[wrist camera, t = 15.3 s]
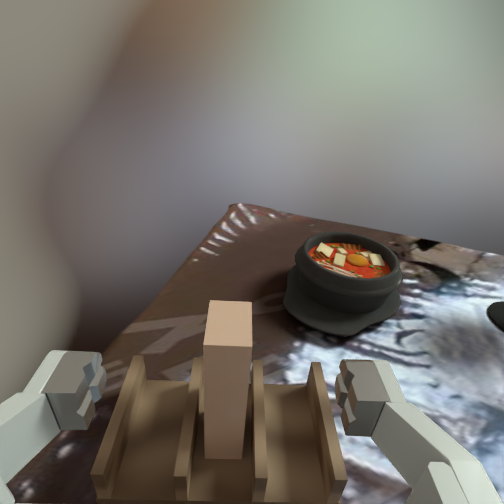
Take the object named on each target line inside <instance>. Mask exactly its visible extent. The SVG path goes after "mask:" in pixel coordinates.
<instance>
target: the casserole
mask: <svg viewBox="0 0 504 504" xmlns="http://www.w3.org/2000/svg"><path fill="white" fill-rule="evenodd" d="M295 262H296V265H294V266H293V267H292V268H291V270H290V271H289V273H288V276H287V290H286V292H285V295H284V298H283V305H284V308H285V309H286V310H287V311H288V312H289V313H290V314H291V315H292V316H293V317H294V318H296V319H297V320H298V321H300V322H302V323H304V324H305V325H307V326H309V327H311V328H313V329H316V330H318V331H321V332H324V333H328V334H332V335H338V336H351V335H355V334H356V333H358V332H360V331H361V330H363V329H364V328H366V327H368V326H370V325H372V324H375V323H378V322H381V321H384V320H387V319H388V318H390V317H391V316H393V315H394V314H395V313H396V312H397V310H398V309H399V306H400V295H399V293H398V291H397V289H398V288H399V287H400V285H401V284H402V281H403V274H402V272H401V269H400V265H399V260H398V258H397V256H396V255H395V254H394V253H393V252H392V251H391V250H390V249H389V248H387V247H386V246H384V245H383V244H381V243H379V242H377V241H375V240H373V239H370V238H367V237H364V236H361V235H357V234H352V233H346V232H324V233H319V234H316V235H313V236H311V237H310V238H308V239H307V240H306V241H305V243H304V244H303V246H301V247H300V248H299V249H298V250H297V253H296V255H295Z"/></svg>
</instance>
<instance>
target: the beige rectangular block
mask: <svg viewBox="0 0 504 504" xmlns="http://www.w3.org/2000/svg"><path fill="white" fill-rule="evenodd" d="M203 350H204V447H205V459H242V451H243V440H244V429H245V419H246V408H247V397H248V387H249V376H250V365H251V354H252V302H236V301H214V300H210V304H209V311H208V318H207V324H206V331H205V338H204V344H203Z"/></svg>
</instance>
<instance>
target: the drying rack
mask: <svg viewBox="0 0 504 504" xmlns="http://www.w3.org/2000/svg"><path fill="white" fill-rule="evenodd" d="M90 476H91V479H92V482H93V485H94V488H95V491H96V494H97V496H96V502H97V504H341V502H340V498H341V495H342V493H343V490H344V488H345V485H346V483H347V481H348V479H347V475H346V470H345V466H344V462H343V457H342V453H341V449H340V444H339V440H338V436H337V432H336V427H335V423H334V419H333V414H332V410H331V406H330V401H329V397H328V393H327V389H326V384H325V380H324V376H323V371H322V367H321V363H320V362H311V367H310V371H309V375H308V380H307V384H306V386H305V385H276V384H263V366H262V360H253V367H252V377H251V384H249V387H248V397H247V408H246V419H245V429H244V440H243V451H242V459H205V447H204V382H203V358H194V361H193V366H192V372H191V378H190V382H187V381H157V380H147V379H146V372H145V365H144V358H143V356H135V355H134V357H133V359H132V362H131V365H130V367H129V370H128V373H127V375H126V378H125V381H124V384H123V386H122V389H121V392H120V394H119V397H118V400H117V402H116V405H115V408H114V411H113V413H112V416H111V419H110V421H109V424H108V427H107V429H106V432H105V435H104V438H103V440H102V443H101V446H100V448H99V451H98V454H97V456H96V459H95V462H94V465H93V467H92V470H91V473H90Z"/></svg>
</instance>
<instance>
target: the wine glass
mask: <svg viewBox="0 0 504 504" xmlns="http://www.w3.org/2000/svg"><path fill="white" fill-rule="evenodd" d="M488 315H489V317H490V319H491V320H492V321H493V323H494V324H495V325H496V326H498V327H499V328H500V329H501V330H503V331H504V302H495V303H493V304H491V305H490V306H489V308H488Z"/></svg>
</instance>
